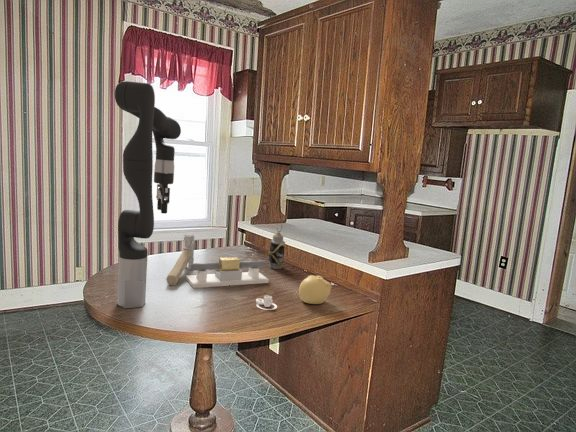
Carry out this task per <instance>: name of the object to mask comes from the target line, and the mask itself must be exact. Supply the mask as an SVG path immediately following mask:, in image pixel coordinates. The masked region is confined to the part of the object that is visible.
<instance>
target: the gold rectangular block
mask: <svg viewBox="0 0 576 432" xmlns="http://www.w3.org/2000/svg"><path fill="white" fill-rule="evenodd" d="M218 262H219V265H220V268H219V269H218V271H219V272H220V271H234V270H240V268H239V264H240V262H241V259H240V258H238V257H236V256H235V257H233V256H232V257H219V258H218Z"/></svg>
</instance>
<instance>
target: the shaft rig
mask: <svg viewBox="0 0 576 432" xmlns="http://www.w3.org/2000/svg"><path fill="white" fill-rule="evenodd" d="M265 267H266V260H250V261H249V260H247V261H245V260H242V261H241V260H240V264H239V270H234V271H220V272H219V271H218V269H219V268H220V265H219V261H217V262H199V263H197V262H195V263H194V262H193V263H192V264H190V268H189V271H191V272H193V271H194V272H195V271H196V273H195V274H191V275H190V274H189V275H187V274H186V275H185V280H186V281H187V282H188V283H189V285H190V286H191V287H192V288H193V289H199V288H212V287H227V286H228V287H229V285H230V286H242V285H256V284H269V282H270V279H269V278H268V277H266V276H265V275H264V274H263V273H261V272H260V268H265ZM243 269H248V271H245V272H243ZM213 270H214V273H208V271H213Z"/></svg>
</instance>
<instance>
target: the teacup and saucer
mask: <svg viewBox="0 0 576 432" xmlns="http://www.w3.org/2000/svg"><path fill="white" fill-rule="evenodd" d="M255 303H256V307H257V308H258V309H260V310H264V311H273V310H276V309H277V308H278V305H277V304H276V303H274V300H273V296H272V295H268V294H267V295H263V298H262V297H261V298H260V297H259V298H256V299H255ZM260 305H262V306H263V305H264V308H263V307H261V306H260ZM271 306H274V307H272V308H269V307H271ZM265 307H266V308H265Z"/></svg>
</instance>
